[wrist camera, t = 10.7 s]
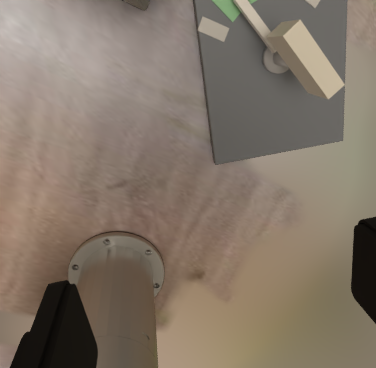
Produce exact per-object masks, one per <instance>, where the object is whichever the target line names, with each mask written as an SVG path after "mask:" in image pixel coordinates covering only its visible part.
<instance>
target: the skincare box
mask: <svg viewBox="0 0 376 368" xmlns="http://www.w3.org/2000/svg"><path fill="white" fill-rule="evenodd" d="M123 1H125V2H127V3H129V4H131V5H133V6H135V7H137V8H140V9H142V10H144V11H145V10H146V9H147V7H148V4H149V1H150V0H123Z"/></svg>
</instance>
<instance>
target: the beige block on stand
mask: <svg viewBox="0 0 376 368" xmlns="http://www.w3.org/2000/svg"><path fill="white" fill-rule="evenodd" d="M233 2H234V3H235V5H236V6H237V7H238V8H239V10H240V11H241V12H242V14H243V15H244V16H245V18H246V19H247V20H248V22H249V23H250V24H251V26H252V27H253V28H254V30H255V31H256V32H257V34H258V35H259V36H260V38H261V39H262V40H263V42H264V43H265V44H266V46H267V47H266V48H265V50H264V52H263V55H262V62H263V65H264V67H265V68H266V69H267V70H268V71H269V72H272V73H277V74H279V73H284V72H286V71H287V70H288V69H289V68H290V70H291V71H292V72H293V74H294V75H295V76H296V78H297V79H298V80H299V82H300V83H301V84H302V86H303V87H304V88H305V90H306V91H307V92H308V93H309V94H312V95H316V96H319V97H322V98H326V99H330V98H331V97H332V96H333V95H334V94H335V93H336V92H337V91H339V90H340V89H341V88H342V87H343V86H344V85H345V84H344V83H343V81H342V80H341V78H340V77H339V75H338V74H337V72H336V71H335V69H334V68H333V67H332V65H331V64H330V62H329V61H328V59H327V58H326V56H325V55H324V53H323V52H322V51H321V49H320V48H319V46H318V45H317V43H316V42H315V40H314V39H313V37H312V36H311V34H310V33H309V32H308V30H307V29H306V27H305V26H304V24H303V23H302V21H301V20H293V21H286V22H281V23H280V24H279V25H278V26H277V27H276V28H275V29H274V30H273V31H272V32H271V31H270V30H269V29H268V27H267V26H266V25H265V23H264V22H263V21H262V19H261V18H260V16H259V15H258V14H257V12H256V11H255V10H254V8H253V7H252V6H251V4H250V3H249V1H248V0H233Z"/></svg>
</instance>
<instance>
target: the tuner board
mask: <svg viewBox="0 0 376 368" xmlns="http://www.w3.org/2000/svg"><path fill="white" fill-rule="evenodd" d="M248 1H249V3H250V4H251V6H252V7H253V8H254V10H255V11H256V12H257V14H258V15H259V16H260V18H261V19H262V21H263V22H264V23H265V25H266V26H267V27H268V29H269V30H270V31H271V32H272V31H273V30H274V29H275V28H276V27H277V26H278V25H279V24H280V23H281V22H286V21H293V20H301V21H302V23H303V24H304V26H305V27H306V29H307V30H308V32H309V33H310V34H311V36H312V37H313V39H314V40H315V42H316V43H317V45H318V46H319V48H320V49H321V51H322V52H323V53H324V55H325V56H326V58H327V59H328V61H329V62H330V64H331V65H332V67H333V68H334V69H335V71H336V72H337V74H338V75H339V77H340V78H341V80H342V81H343V83H344V84H345V62H346V29H347V0H248ZM193 3H194V11H195V19H196V27H197V34H198V42H199V50H200V58H201V65H202V73H203V81H204V89H205V96H206V104H207V112H208V120H209V127H210V135H211V143H212V150H213V158H214V163H215V164H216V165H218V164H223V163H228V162H234V161H239V160H244V159H249V158H255V157H260V156H265V155H270V154H276V153H281V152H286V151H291V150H296V149H302V148H307V147H313V146H317V145H323V144H328V143H334V142H339V141H343V127H344V126H343V125H344V93H345V85H344V86H343V87H342V88H341V89H340V90H339V91H337V92H336V93H335V94H334V95H333V96H332V97H331V98H330V99H326V98H322V97H319V96H316V95H312V94H309V93H308V92H307V91H306V90H305V88H304V87H303V86H302V84H301V83H300V82H299V80H298V79H297V78H296V76H295V75H294V74H293V72H292V71H291V70H290V68H289V69H288V70H287V71H286V72H284V73H279V74H277V73H272V72H269V71H268V70H267V69H266V68H265V67H264V65H263V62H262V55H263V52H264V50H265V48H266V47H267V46H266V44H265V43H264V42H263V40H262V39H261V38H260V36H259V35H258V34H257V32H256V31H255V30H254V28H253V27H252V26H251V24H250V23H249V22H248V20H247V19H246V18H245V16H244V15H243V14H242V12H241V11H240V10H239V8H238V7H237V6H236V5H235V3H234V2H233V0H193Z"/></svg>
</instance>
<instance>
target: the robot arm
mask: <svg viewBox="0 0 376 368" xmlns="http://www.w3.org/2000/svg"><path fill="white" fill-rule="evenodd" d="M106 239H109V240H106ZM353 242H354V243H353V262H352V282H351V290H352V294H353V296H354V298H355V300H356V301H357V302H358V303H359V304H360V306H361V307H362V308H363V309H364V310H365V311H366V313H367V314H368V315H369V316H370V318H371V319H372V320H373V321H374V322H375V323H376V217H373V218H368V219H363V220H360V221H359V223H358V225H356V226H355V228H354V241H353ZM164 275H165V273H164V265H163V260H162V258H161V256H160V254H159V252H158V251H157V249H156V248H155V247H154V246H153V245H152V244H151V243H150V242H148V241H147V240H145V239H143V238H141V237H139V236H137V235H134V234H130V233H124V232H111V233H104V234H101V235H98V236H95V237H93V238H91V239H89V240H87V241H86V242H85V243H84V244H82V245H81V246H80V247H79V248H78V249H77V251H76V252H75V253H74V255H73V257H72V259H71V261H70V264H69V268H68V281H67V280H65V281H60V282H55V283H51V284H48V286H47V288H46V291H45V294H44V296H43V299H42V301H41V304H40V307H39V309H38V312H37V314H36V317H35V320H34V322H33V325H32V328H31V330H30V332H26V333H25V334H24V335H23V337H22V339H21V341H20V344H19V346H18V349H17V351H16V354H15V356H14V359H13V361H12V364H11V366H10V368H158V358H157V339H156V321H155V303H154V298H155V296H156V295H157V294H158V293H159V291H160V289H161V287H162V284H163V282H164Z"/></svg>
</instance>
